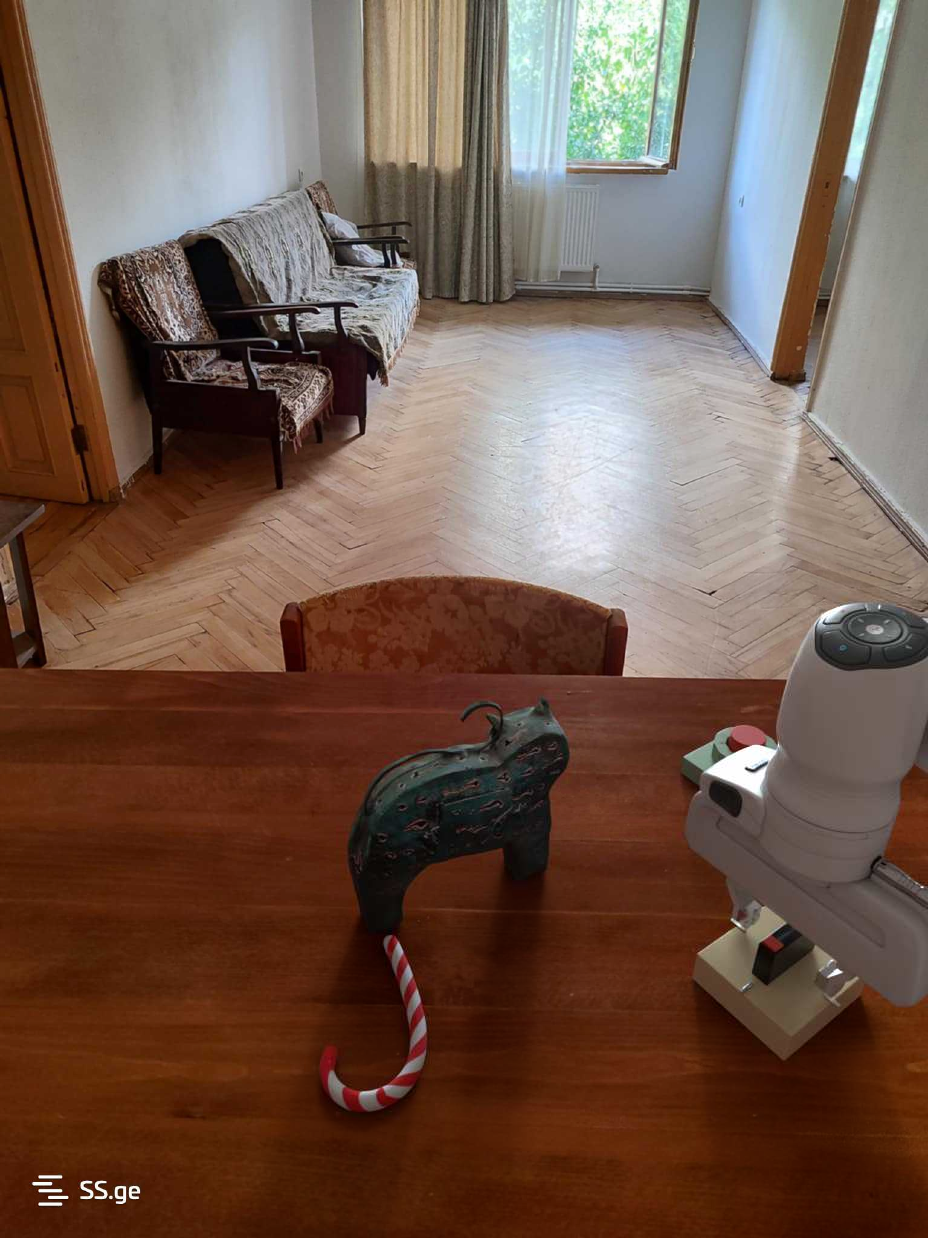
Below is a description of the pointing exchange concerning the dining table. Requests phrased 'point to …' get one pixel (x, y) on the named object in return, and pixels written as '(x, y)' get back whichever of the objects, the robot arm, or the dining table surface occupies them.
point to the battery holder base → (770, 988)
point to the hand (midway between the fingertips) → (784, 953)
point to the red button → (745, 737)
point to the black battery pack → (780, 953)
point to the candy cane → (415, 1061)
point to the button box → (711, 755)
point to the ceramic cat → (458, 809)
